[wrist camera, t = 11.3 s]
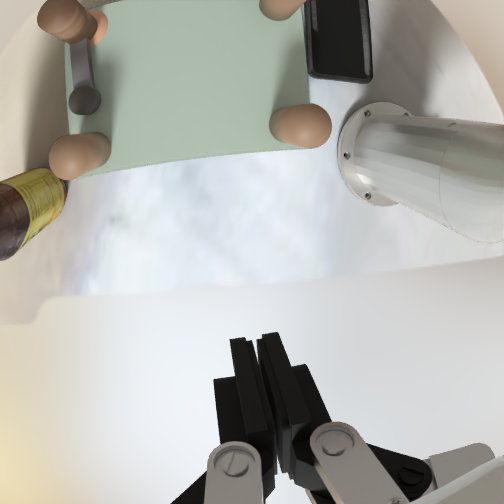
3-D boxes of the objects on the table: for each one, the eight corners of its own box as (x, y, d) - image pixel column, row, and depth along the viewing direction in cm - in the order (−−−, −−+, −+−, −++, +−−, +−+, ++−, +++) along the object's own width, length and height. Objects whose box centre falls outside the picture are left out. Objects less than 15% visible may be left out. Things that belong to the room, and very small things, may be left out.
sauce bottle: (27, 219, 31) (-78, 303, 12) (24, 166, 28) (-99, 218, 10) (74, 219, 32) (-23, 314, 14) (72, 164, 29) (-46, 216, 11)
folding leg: (106, 109, 26) (83, 106, 20) (73, 119, 25) (44, 120, 19) (96, 10, 21) (75, -13, 15) (64, 21, 21) (37, 3, 15)
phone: (364, -24, 25) (373, 84, 30) (360, -21, 26) (368, 85, 31) (302, -38, 24) (308, 76, 29) (299, -34, 25) (304, 78, 30)
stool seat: (292, -5, 26) (321, -40, 17) (304, 146, 33) (340, 155, 24) (72, 22, 23) (36, -4, 15) (83, 175, 30) (47, 194, 22)
